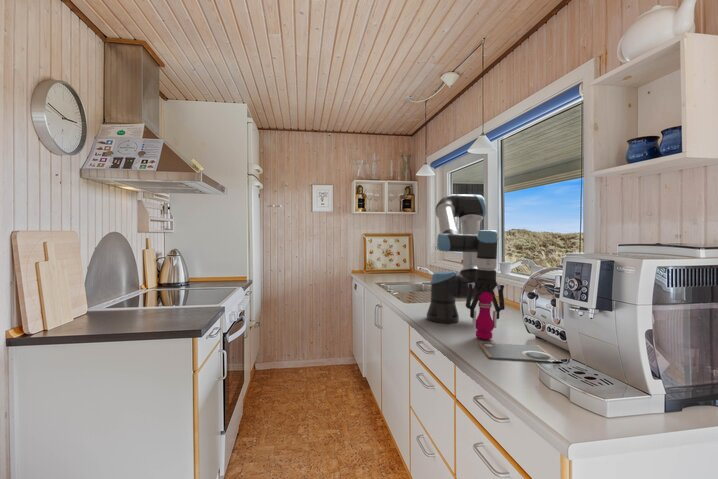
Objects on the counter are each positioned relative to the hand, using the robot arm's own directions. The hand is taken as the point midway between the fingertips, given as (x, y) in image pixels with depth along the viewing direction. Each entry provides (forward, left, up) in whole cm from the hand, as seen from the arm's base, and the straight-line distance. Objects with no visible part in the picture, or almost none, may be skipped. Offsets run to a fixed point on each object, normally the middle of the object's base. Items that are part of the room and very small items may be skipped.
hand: (484, 326), depth 142 cm
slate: (+15, +7, -5) cm, 18 cm away
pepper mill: (0, 0, -4) cm, 4 cm away
